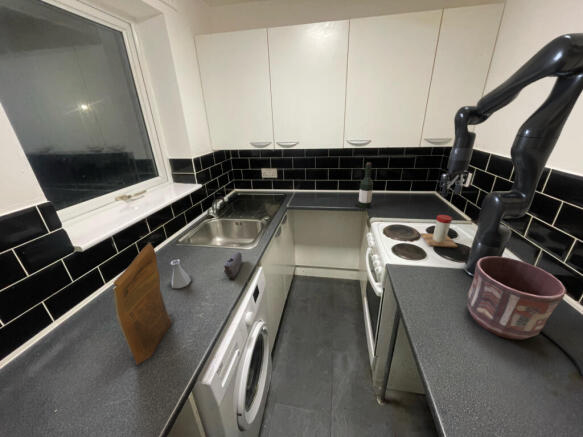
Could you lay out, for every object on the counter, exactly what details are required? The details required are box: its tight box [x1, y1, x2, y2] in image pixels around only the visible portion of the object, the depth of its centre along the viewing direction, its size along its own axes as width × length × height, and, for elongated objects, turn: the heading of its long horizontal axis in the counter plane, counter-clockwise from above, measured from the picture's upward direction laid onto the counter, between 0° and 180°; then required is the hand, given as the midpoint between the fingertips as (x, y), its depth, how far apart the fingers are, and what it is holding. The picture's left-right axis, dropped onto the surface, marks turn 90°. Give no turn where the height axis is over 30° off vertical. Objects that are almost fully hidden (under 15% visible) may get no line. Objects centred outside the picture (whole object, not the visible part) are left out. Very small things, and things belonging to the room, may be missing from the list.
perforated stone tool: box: [223, 251, 243, 279], centre depth 96 cm, size 15×5×7 cm, turn 172°
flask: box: [170, 259, 192, 289], centre depth 89 cm, size 7×7×10 cm
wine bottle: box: [357, 162, 374, 210], centre depth 153 cm, size 8×8×30 cm
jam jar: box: [432, 220, 451, 242], centre depth 111 cm, size 6×6×12 cm
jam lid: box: [436, 214, 453, 224], centre depth 109 cm, size 6×6×2 cm
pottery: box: [466, 256, 567, 341], centre depth 65 cm, size 18×18×18 cm
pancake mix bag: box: [111, 242, 172, 366], centre depth 63 cm, size 7×19×28 cm, turn 179°
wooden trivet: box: [420, 232, 459, 249], centre depth 113 cm, size 12×12×1 cm
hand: (450, 195), depth 104 cm, fingers open, 7 cm apart
